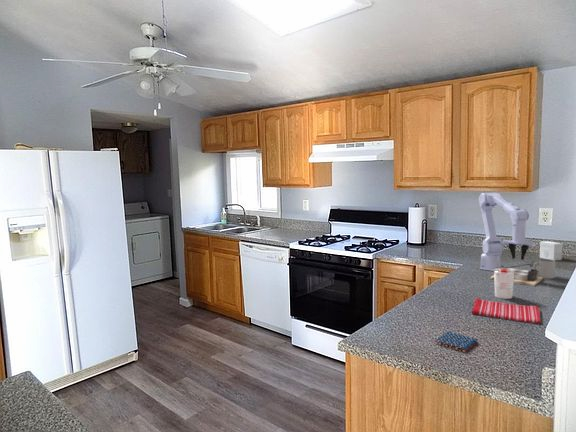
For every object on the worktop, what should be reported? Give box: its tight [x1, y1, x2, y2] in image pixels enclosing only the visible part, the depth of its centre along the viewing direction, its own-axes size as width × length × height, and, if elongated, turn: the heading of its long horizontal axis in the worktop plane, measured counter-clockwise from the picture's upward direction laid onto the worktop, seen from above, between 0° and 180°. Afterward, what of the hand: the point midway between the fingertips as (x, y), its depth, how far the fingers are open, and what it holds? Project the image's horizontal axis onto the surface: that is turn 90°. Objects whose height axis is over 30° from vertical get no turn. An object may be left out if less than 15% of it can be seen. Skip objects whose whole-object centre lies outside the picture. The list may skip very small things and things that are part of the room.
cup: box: [532, 258, 557, 280], centre depth 207 cm, size 7×10×9 cm
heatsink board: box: [489, 265, 544, 287], centre depth 203 cm, size 20×16×6 cm
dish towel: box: [471, 298, 542, 325], centre depth 157 cm, size 17×24×3 cm
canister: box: [493, 268, 515, 300], centre depth 176 cm, size 10×8×12 cm
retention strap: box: [500, 262, 534, 269], centre depth 203 cm, size 16×3×2 cm, turn 45°
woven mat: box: [434, 331, 479, 353], centre depth 131 cm, size 10×11×2 cm
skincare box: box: [539, 240, 563, 261], centre depth 246 cm, size 10×6×10 cm, turn 14°
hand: (518, 258), depth 204 cm, fingers open, 3 cm apart
